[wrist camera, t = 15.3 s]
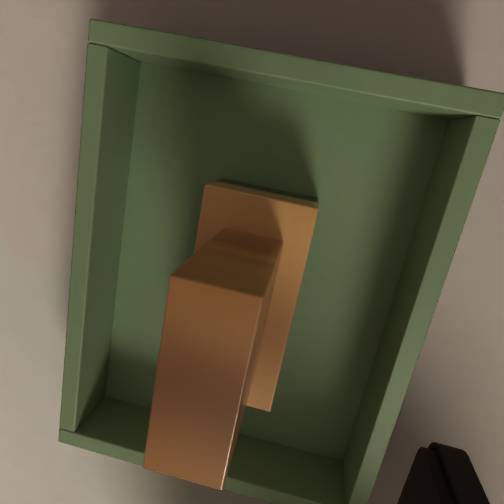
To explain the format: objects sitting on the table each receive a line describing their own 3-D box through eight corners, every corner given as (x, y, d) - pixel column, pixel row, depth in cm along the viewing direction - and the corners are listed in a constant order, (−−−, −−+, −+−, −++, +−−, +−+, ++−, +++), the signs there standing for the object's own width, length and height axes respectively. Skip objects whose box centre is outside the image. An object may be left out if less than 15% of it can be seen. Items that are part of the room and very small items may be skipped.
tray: (134, 42, 18) (88, 17, 15) (468, 104, 17) (510, 93, 13) (98, 395, 23) (57, 442, 20) (352, 466, 22) (359, 529, 18)
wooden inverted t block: (222, 177, 18) (137, 206, 10) (319, 198, 18) (319, 246, 9) (192, 353, 21) (104, 499, 12) (277, 375, 20) (247, 542, 12)
